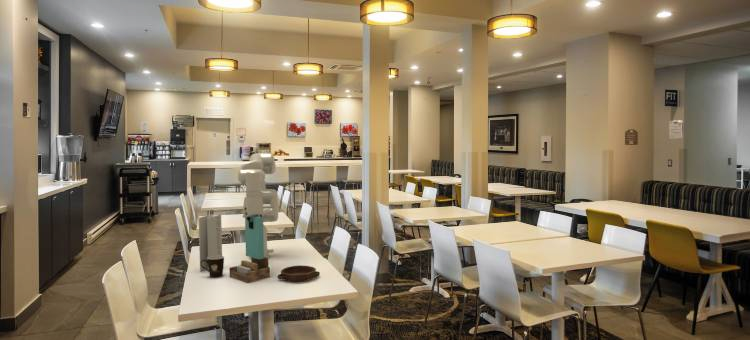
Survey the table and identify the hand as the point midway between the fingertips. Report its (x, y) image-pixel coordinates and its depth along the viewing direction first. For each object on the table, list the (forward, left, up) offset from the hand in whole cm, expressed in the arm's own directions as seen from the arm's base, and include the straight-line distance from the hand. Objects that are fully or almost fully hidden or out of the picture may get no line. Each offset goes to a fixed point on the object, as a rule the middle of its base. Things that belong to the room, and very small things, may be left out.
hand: (254, 227), depth 249 cm
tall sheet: (0, 0, -16) cm, 16 cm away
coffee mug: (+14, -17, -26) cm, 34 cm away
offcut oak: (+4, 0, -26) cm, 26 cm away
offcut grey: (+7, 0, -26) cm, 27 cm away
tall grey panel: (+8, -31, -26) cm, 41 cm away
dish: (-12, +22, -26) cm, 36 cm away
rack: (+3, 0, -26) cm, 26 cm away
